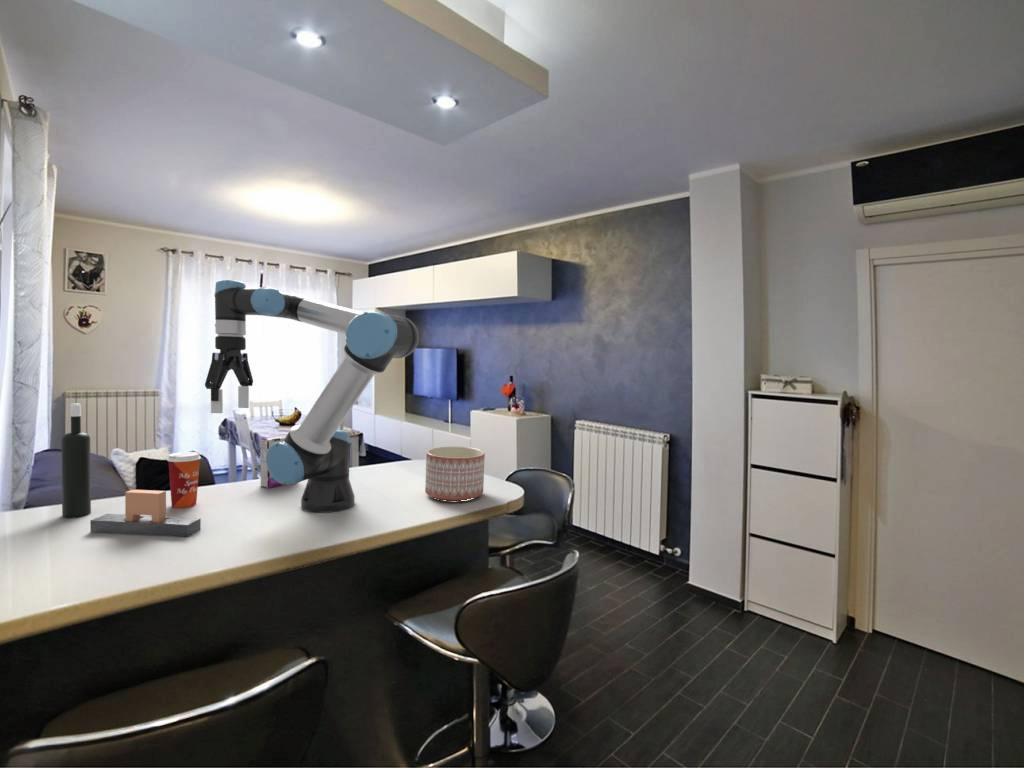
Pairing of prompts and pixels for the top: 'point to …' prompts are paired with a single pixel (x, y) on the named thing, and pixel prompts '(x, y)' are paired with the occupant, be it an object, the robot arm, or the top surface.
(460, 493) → the planter
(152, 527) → the rail
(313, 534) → the top surface
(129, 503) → the clip
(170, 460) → the coffee cup
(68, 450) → the wine bottle
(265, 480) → the candy bar box
